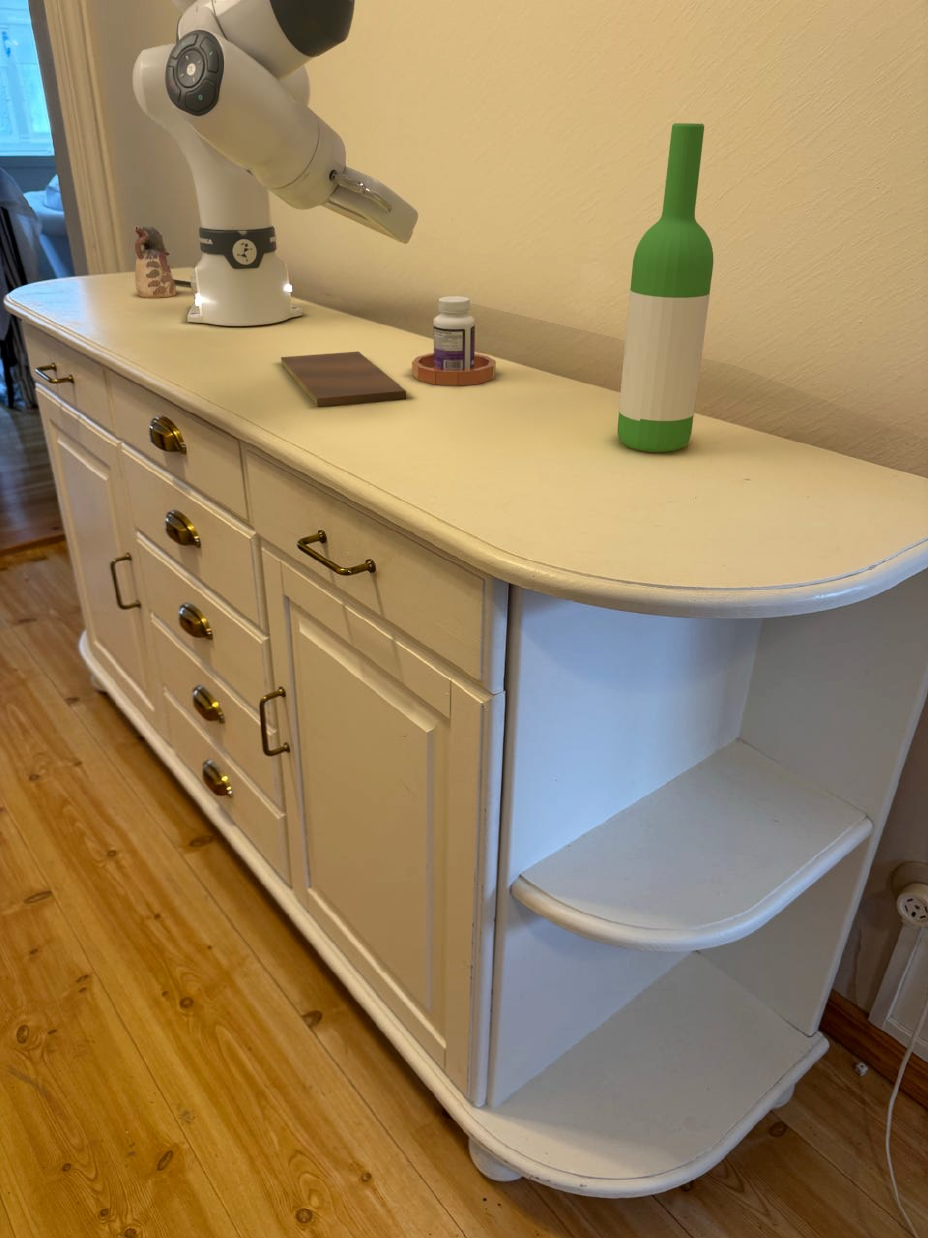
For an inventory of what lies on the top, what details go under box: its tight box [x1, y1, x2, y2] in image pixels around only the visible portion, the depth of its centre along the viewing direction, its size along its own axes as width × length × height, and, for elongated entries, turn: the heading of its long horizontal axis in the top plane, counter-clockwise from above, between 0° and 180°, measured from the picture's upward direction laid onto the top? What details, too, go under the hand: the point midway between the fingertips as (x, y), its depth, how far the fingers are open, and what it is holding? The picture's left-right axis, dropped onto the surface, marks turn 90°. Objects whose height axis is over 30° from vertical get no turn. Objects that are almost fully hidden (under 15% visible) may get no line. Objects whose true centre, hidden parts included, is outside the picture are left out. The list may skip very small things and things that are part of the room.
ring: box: [411, 352, 497, 387], centre depth 122 cm, size 11×11×2 cm
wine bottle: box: [616, 122, 714, 453], centre depth 91 cm, size 8×8×30 cm
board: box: [280, 351, 407, 408], centre depth 120 cm, size 22×11×1 cm, turn 21°
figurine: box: [134, 225, 178, 299], centre depth 170 cm, size 7×7×12 cm
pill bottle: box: [433, 295, 476, 370], centre depth 121 cm, size 5×5×10 cm
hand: (378, 223), depth 109 cm, fingers open, 8 cm apart
